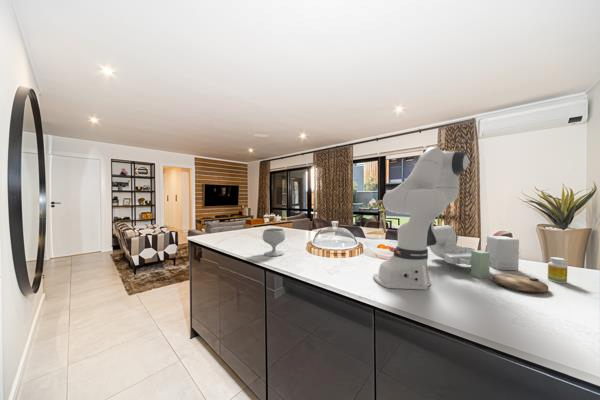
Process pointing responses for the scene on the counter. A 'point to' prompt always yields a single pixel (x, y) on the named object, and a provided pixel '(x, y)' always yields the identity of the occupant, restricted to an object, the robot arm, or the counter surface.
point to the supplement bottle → (557, 270)
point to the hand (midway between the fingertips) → (480, 263)
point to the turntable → (520, 282)
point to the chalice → (274, 240)
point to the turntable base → (519, 290)
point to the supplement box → (503, 252)
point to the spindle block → (480, 263)
